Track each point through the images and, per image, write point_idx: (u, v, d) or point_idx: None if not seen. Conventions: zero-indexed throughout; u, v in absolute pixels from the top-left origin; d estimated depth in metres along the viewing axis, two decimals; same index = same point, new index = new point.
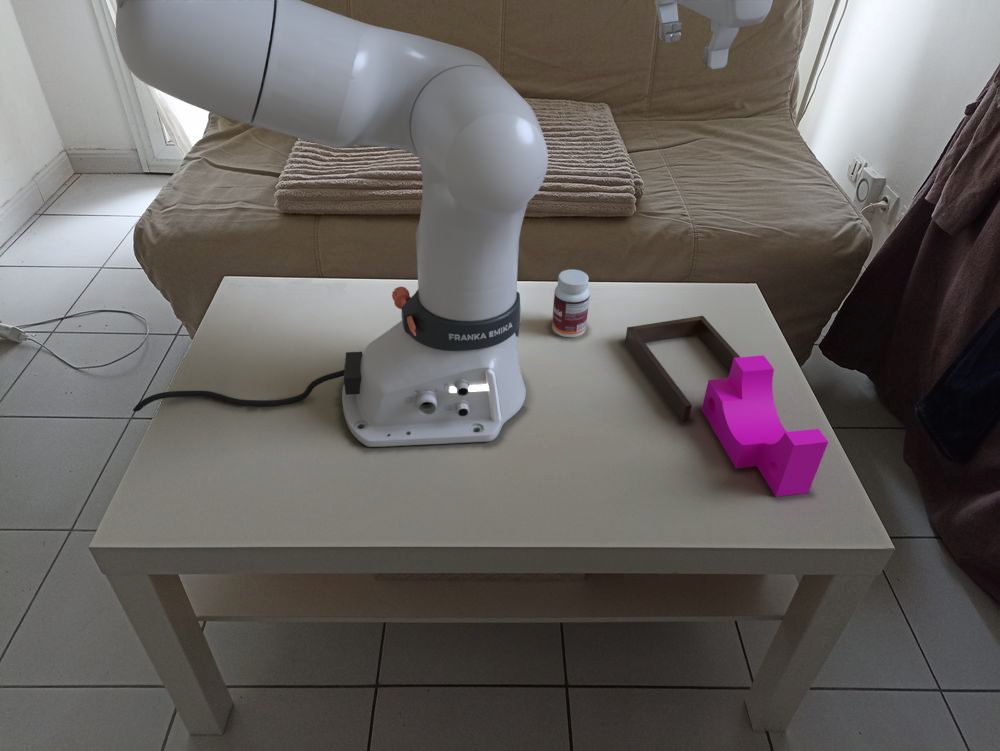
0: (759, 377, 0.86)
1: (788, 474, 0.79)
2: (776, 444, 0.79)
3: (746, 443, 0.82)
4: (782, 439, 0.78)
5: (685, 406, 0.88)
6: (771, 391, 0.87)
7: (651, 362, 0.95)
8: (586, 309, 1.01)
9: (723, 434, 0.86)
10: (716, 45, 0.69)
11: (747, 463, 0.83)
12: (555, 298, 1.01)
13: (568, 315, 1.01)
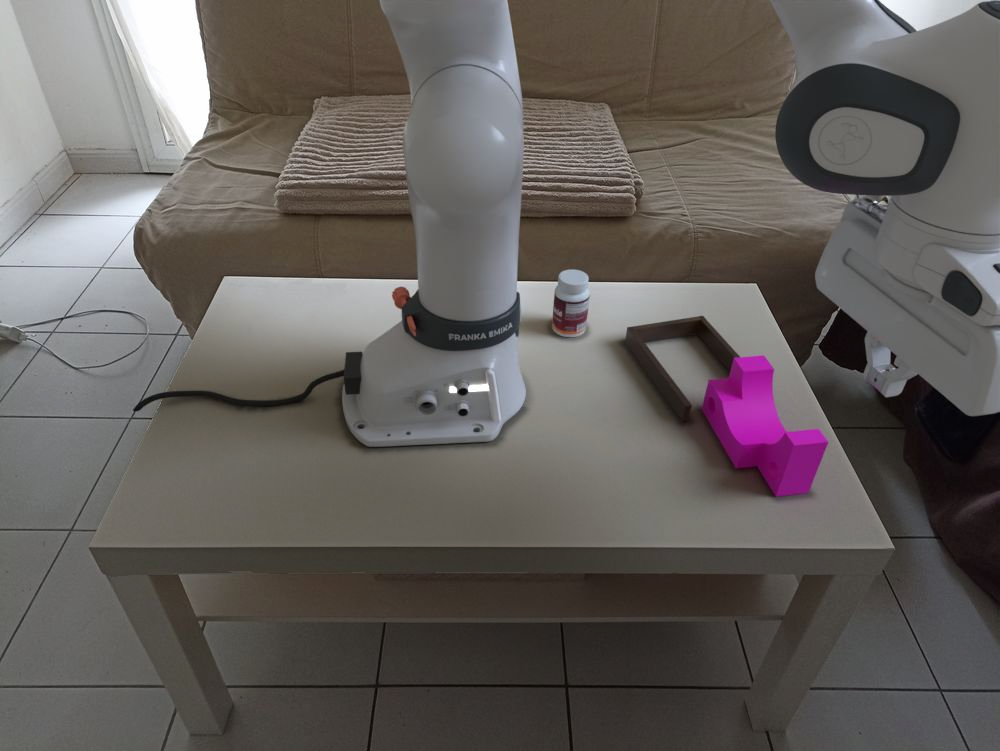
0: (759, 377, 0.86)
1: (788, 474, 0.79)
2: (776, 444, 0.79)
3: (746, 443, 0.82)
4: (782, 439, 0.78)
5: (685, 406, 0.88)
6: (771, 391, 0.87)
7: (651, 362, 0.95)
8: (586, 309, 1.01)
9: (723, 434, 0.86)
10: (898, 379, 0.62)
11: (747, 463, 0.83)
12: (555, 298, 1.01)
13: (568, 315, 1.01)
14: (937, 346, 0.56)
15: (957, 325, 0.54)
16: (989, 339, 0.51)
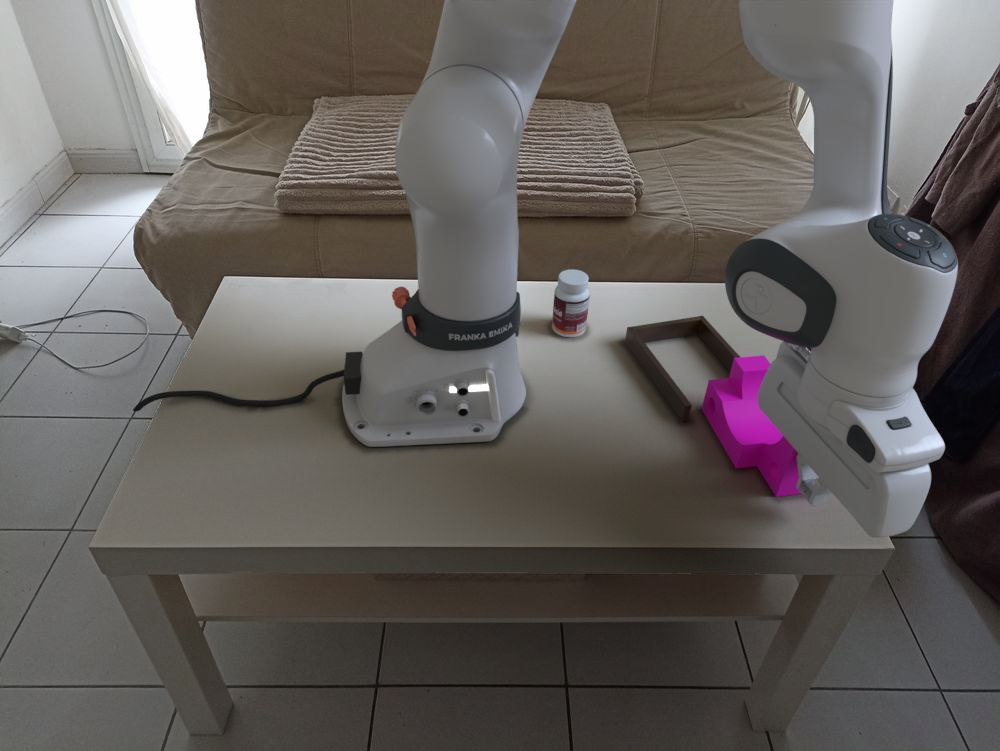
0: (759, 377, 0.86)
1: (788, 474, 0.79)
2: (776, 444, 0.79)
3: (746, 443, 0.82)
4: (782, 439, 0.78)
5: (685, 406, 0.88)
6: None
7: (651, 362, 0.95)
8: (586, 309, 1.01)
9: (723, 434, 0.86)
10: (821, 494, 0.74)
11: (747, 463, 0.83)
12: (555, 298, 1.01)
13: (568, 315, 1.01)
14: (847, 477, 0.68)
15: None
16: (882, 482, 0.63)
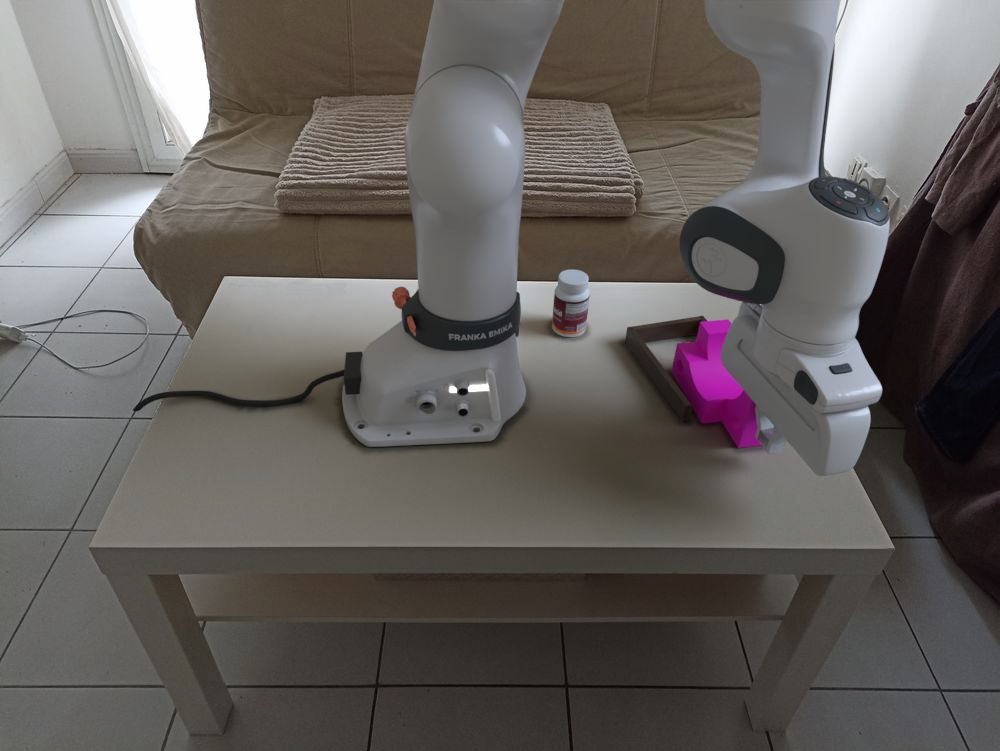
0: (724, 339, 0.92)
1: (749, 426, 0.84)
2: (738, 398, 0.85)
3: (711, 399, 0.88)
4: (743, 393, 0.84)
5: (685, 406, 0.88)
6: None
7: (651, 362, 0.95)
8: (586, 309, 1.01)
9: (690, 393, 0.92)
10: (776, 442, 0.80)
11: (712, 418, 0.89)
12: (555, 298, 1.01)
13: (568, 315, 1.01)
14: (797, 422, 0.74)
15: None
16: (824, 422, 0.69)
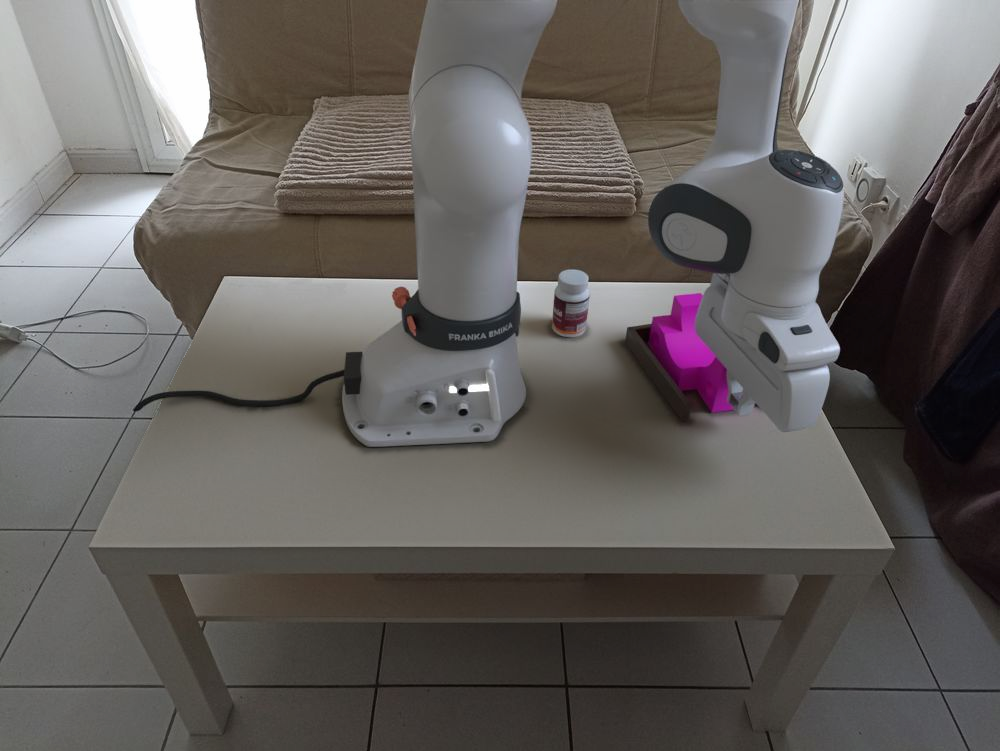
0: (696, 311, 0.97)
1: (721, 391, 0.89)
2: (710, 365, 0.90)
3: (685, 367, 0.93)
4: (715, 360, 0.89)
5: (685, 406, 0.88)
6: None
7: (651, 362, 0.95)
8: (586, 309, 1.01)
9: (666, 363, 0.97)
10: (746, 403, 0.85)
11: (687, 386, 0.94)
12: (555, 298, 1.01)
13: (568, 315, 1.01)
14: (763, 382, 0.79)
15: (772, 368, 0.77)
16: (786, 379, 0.74)
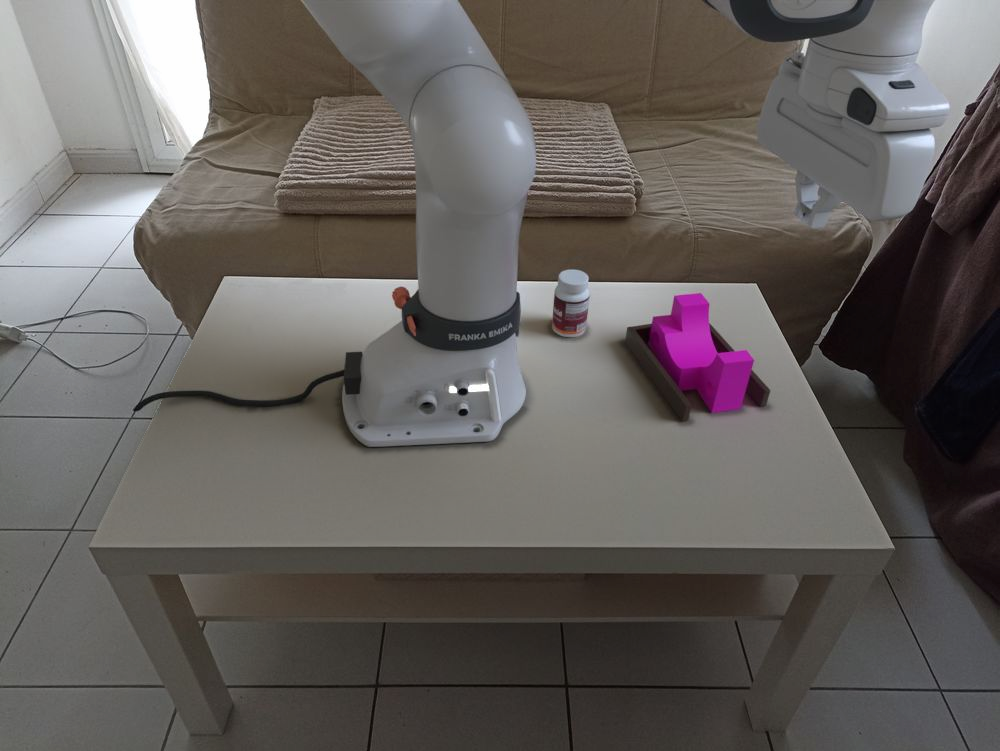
0: (697, 311, 0.97)
1: (721, 391, 0.89)
2: (710, 365, 0.90)
3: (685, 367, 0.93)
4: (715, 360, 0.89)
5: (685, 406, 0.88)
6: (708, 324, 0.97)
7: (651, 362, 0.95)
8: (586, 309, 1.01)
9: (666, 363, 0.97)
10: (821, 209, 0.72)
11: (687, 386, 0.94)
12: (555, 298, 1.01)
13: (568, 315, 1.01)
14: (847, 165, 0.66)
15: (861, 141, 0.63)
16: (883, 143, 0.60)
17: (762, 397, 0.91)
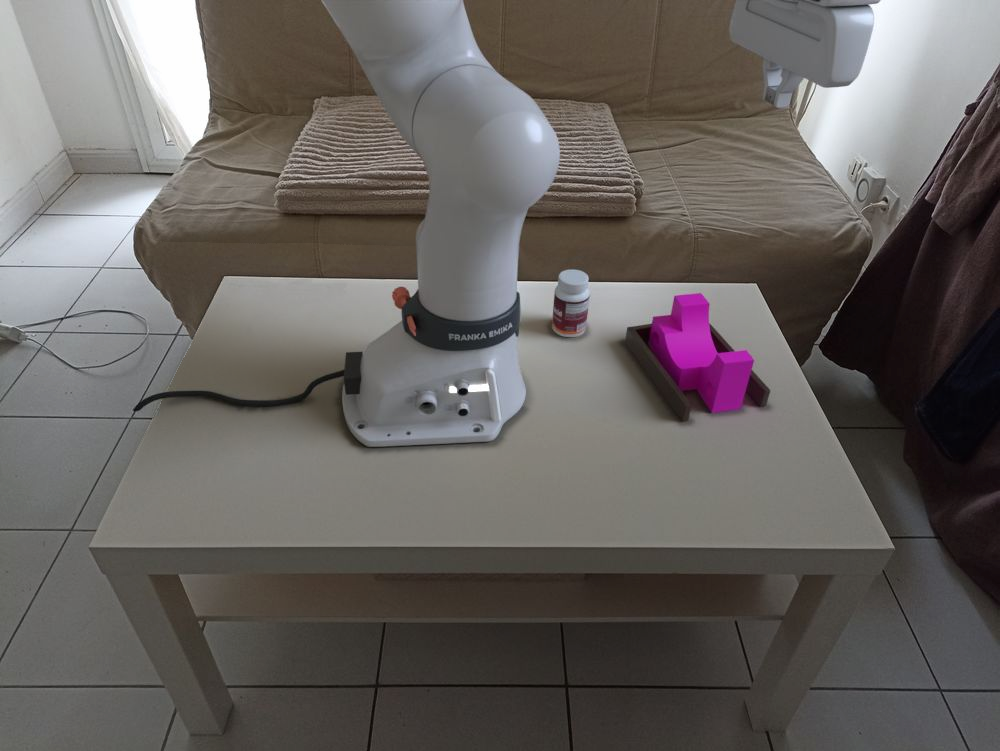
0: (697, 311, 0.97)
1: (721, 391, 0.89)
2: (710, 366, 0.90)
3: (685, 367, 0.93)
4: (715, 360, 0.89)
5: (685, 406, 0.88)
6: (708, 324, 0.97)
7: (651, 362, 0.95)
8: (586, 309, 1.01)
9: (666, 363, 0.97)
10: (784, 89, 0.84)
11: (687, 386, 0.94)
12: (555, 298, 1.01)
13: (568, 315, 1.01)
14: (804, 43, 0.78)
15: (814, 19, 0.76)
16: (830, 16, 0.73)
17: (762, 397, 0.91)
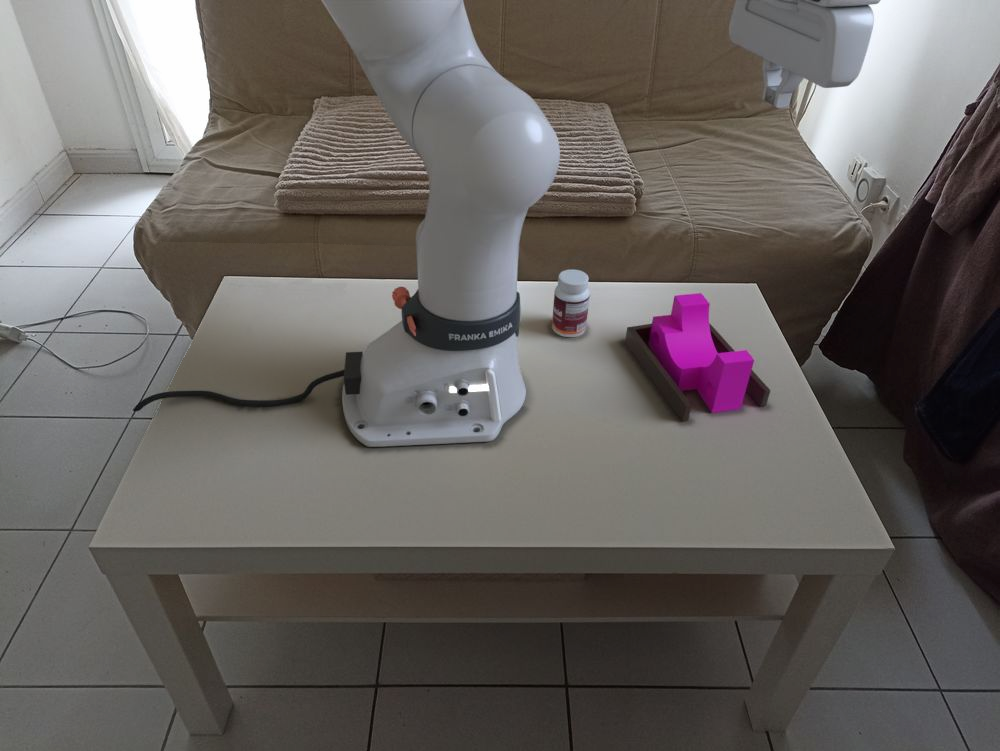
0: (697, 311, 0.97)
1: (721, 391, 0.89)
2: (710, 366, 0.90)
3: (685, 367, 0.93)
4: (715, 360, 0.89)
5: (685, 406, 0.88)
6: (708, 324, 0.97)
7: (651, 362, 0.95)
8: (586, 309, 1.01)
9: (666, 363, 0.97)
10: (784, 89, 0.84)
11: (687, 386, 0.94)
12: (555, 298, 1.01)
13: (568, 315, 1.01)
14: (804, 43, 0.78)
15: (814, 19, 0.76)
16: (830, 16, 0.73)
17: (762, 397, 0.91)
